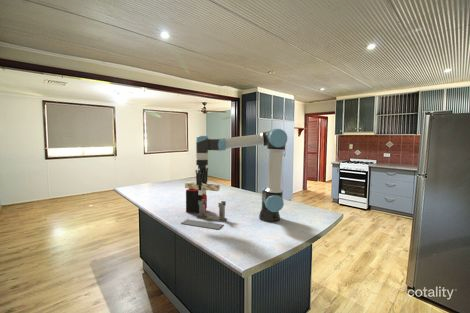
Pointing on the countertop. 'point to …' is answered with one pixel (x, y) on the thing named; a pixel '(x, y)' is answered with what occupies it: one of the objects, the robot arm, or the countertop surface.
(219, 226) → the mat
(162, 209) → the countertop surface
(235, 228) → the countertop surface
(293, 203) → the countertop surface
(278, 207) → the robot arm
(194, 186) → the rail
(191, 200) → the red coffee machine
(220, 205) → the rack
